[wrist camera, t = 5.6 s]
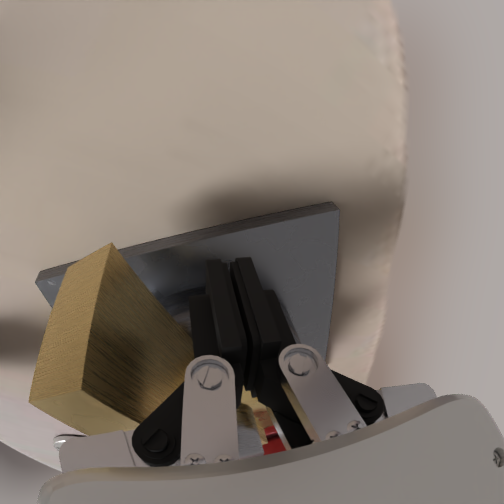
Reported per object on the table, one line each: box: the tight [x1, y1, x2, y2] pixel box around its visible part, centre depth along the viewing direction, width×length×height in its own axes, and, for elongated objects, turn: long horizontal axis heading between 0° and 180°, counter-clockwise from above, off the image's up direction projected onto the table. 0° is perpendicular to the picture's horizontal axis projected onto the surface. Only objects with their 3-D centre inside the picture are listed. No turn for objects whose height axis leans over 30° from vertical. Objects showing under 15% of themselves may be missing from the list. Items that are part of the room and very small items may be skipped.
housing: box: [35, 202, 340, 361], centre depth 19 cm, size 18×18×4 cm
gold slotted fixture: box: [29, 243, 273, 460], centre depth 13 cm, size 17×10×6 cm, turn 21°
